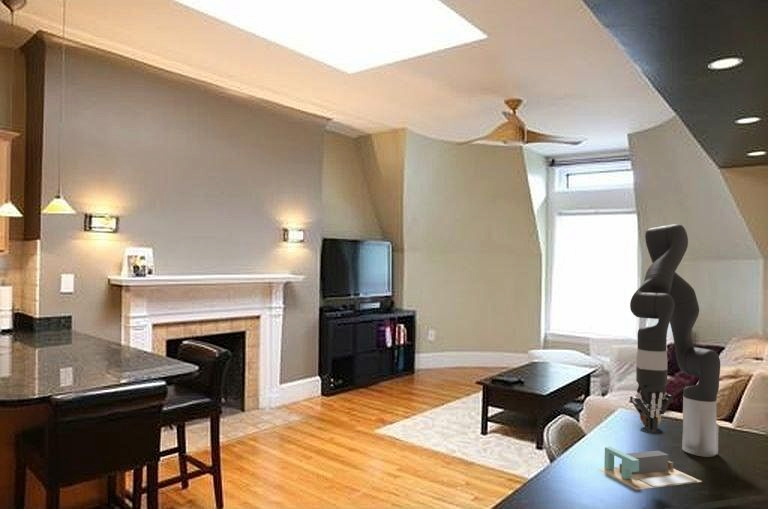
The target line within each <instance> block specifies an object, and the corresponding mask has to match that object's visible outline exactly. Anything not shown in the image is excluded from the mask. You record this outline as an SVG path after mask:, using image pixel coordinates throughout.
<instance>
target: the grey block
mask: <svg viewBox="0 0 768 509" xmlns="http://www.w3.org/2000/svg"><path fill="white" fill-rule="evenodd" d="M626 454H627V455H630V456H632V457H634V458H636V459H638V460H639V471H638V472H632V474H634V475H636V474H644V473H653V472H662V471H668V461H669V454H668V453H666V452H663V451H660V450H659V449H658V450H649V451H639V452H630V453H629V452H628V453H626Z"/></svg>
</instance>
